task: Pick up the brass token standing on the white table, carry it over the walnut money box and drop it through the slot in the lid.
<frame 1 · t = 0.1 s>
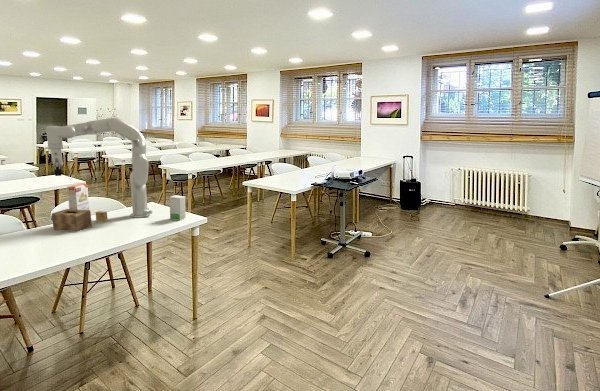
hand: (58, 174, 229), 31 cm above the table, tool pointing down, fingers open, 9 cm apart
token: (102, 220, 243), on the table
cracker box: (80, 214, 257), on the table
skincare box: (178, 219, 252), on the table
coin box: (73, 227, 227), on the table
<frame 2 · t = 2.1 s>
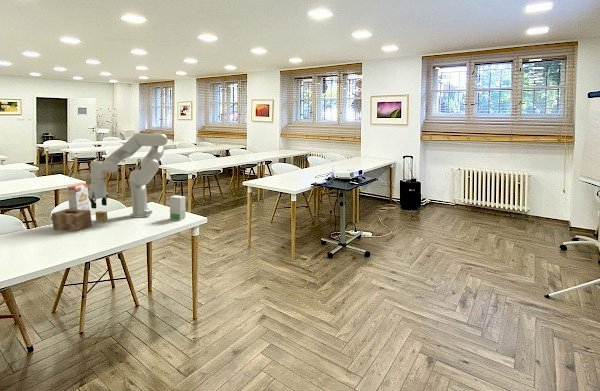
hand: (99, 206, 241), 9 cm above the table, tool pointing down, fingers open, 9 cm apart
nothing on the table moved.
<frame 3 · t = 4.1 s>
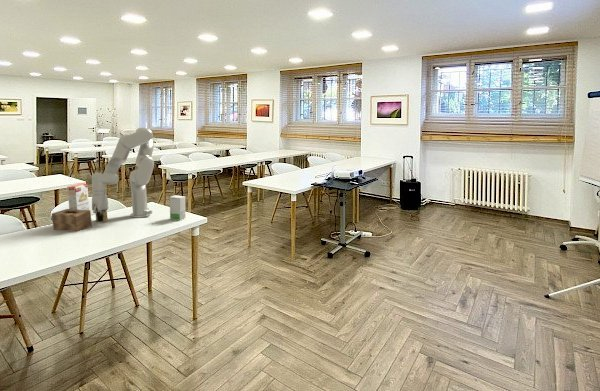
hand: (101, 220, 243), 1 cm above the table, tool pointing down, fingers closed on token, 3 cm apart
token: (101, 220, 243), on the table, touching gripper
everything else where it was.
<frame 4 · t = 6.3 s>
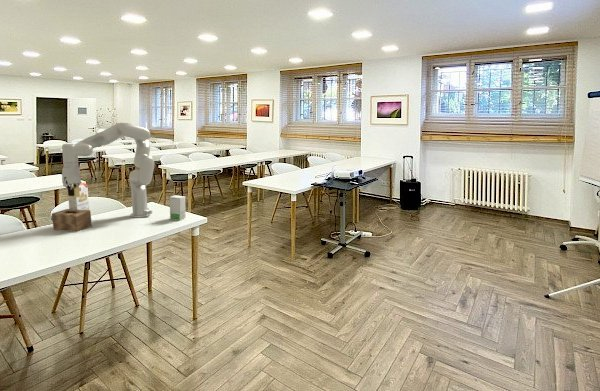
hand: (73, 195, 225), 20 cm above the table, tool pointing down, fingers closed on token, 3 cm apart
token: (73, 196, 225), point 19 cm above the table, touching gripper
everything else where it was.
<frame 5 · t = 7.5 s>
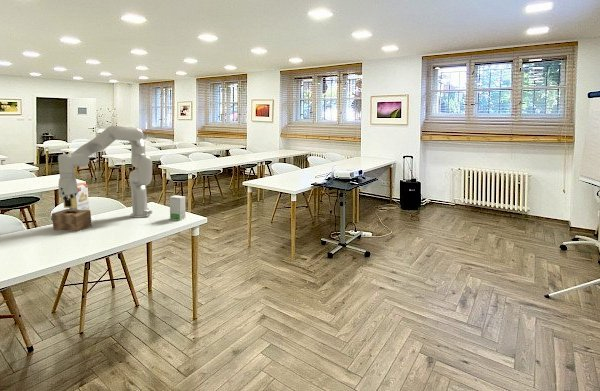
hand: (70, 205, 224), 14 cm above the table, tool pointing down, fingers closed on token, 3 cm apart
token: (70, 207, 224), point 13 cm above the table, touching gripper
everything else where it was.
when the fingers open (11 cm above the table, at t = 8.6 s): token drops 10 cm, resting on coin box.
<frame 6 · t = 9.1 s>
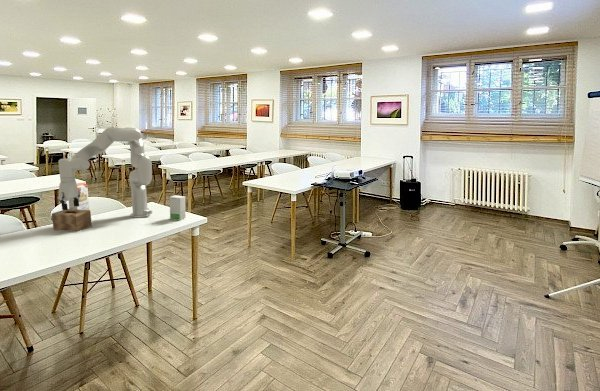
hand: (70, 208, 224), 12 cm above the table, tool pointing down, fingers open, 8 cm apart
token: (73, 226, 227), point 1 cm above the table, touching coin box
everything else where it was.
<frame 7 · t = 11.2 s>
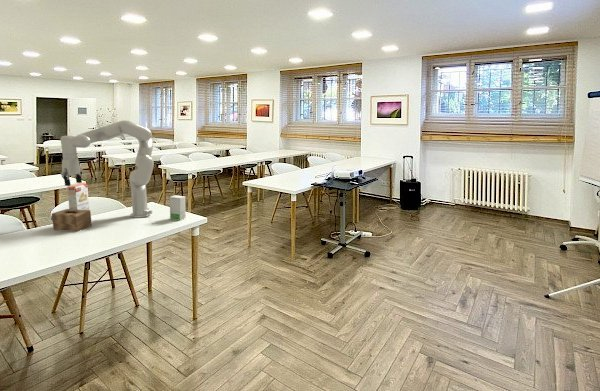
hand: (73, 184, 229), 26 cm above the table, tool pointing down, fingers open, 9 cm apart
nothing on the table moved.
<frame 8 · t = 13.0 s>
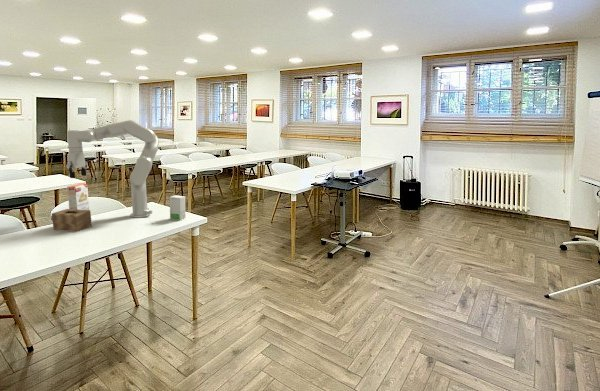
hand: (78, 176, 240), 28 cm above the table, tool pointing down, fingers open, 9 cm apart
nothing on the table moved.
at the end: token inside the target area on the coin box (0.1 cm from its centre), point 0.6 cm above the coin box's base; the gripper is holding nothing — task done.
